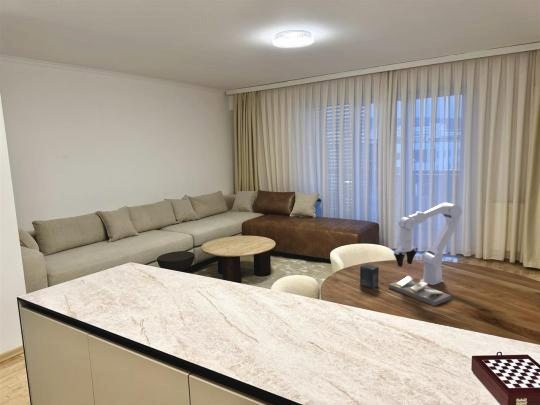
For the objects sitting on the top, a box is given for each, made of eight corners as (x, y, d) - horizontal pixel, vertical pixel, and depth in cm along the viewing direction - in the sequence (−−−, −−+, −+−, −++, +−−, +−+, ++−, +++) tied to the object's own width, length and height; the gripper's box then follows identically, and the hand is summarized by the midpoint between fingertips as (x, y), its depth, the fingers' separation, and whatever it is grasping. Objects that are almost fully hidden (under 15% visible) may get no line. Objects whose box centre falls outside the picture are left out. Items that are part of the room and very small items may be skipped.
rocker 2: (421, 282, 182) (421, 281, 181) (427, 284, 179) (427, 283, 178) (409, 289, 177) (409, 287, 177) (416, 291, 174) (416, 290, 174)
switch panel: (405, 282, 193) (405, 278, 192) (450, 299, 171) (451, 294, 170) (388, 287, 186) (388, 283, 186) (434, 305, 164) (434, 301, 164)
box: (378, 286, 188) (379, 266, 187) (372, 289, 185) (372, 269, 183) (365, 282, 194) (366, 263, 193) (359, 284, 191) (359, 265, 189)
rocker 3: (435, 291, 175) (435, 289, 175) (442, 294, 172) (442, 292, 172) (424, 290, 170) (424, 289, 170) (431, 293, 167) (431, 291, 167)
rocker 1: (407, 277, 188) (407, 275, 188) (413, 279, 185) (413, 277, 185) (396, 284, 184) (396, 283, 184) (402, 287, 181) (402, 285, 181)
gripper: (408, 236, 194) (407, 260, 196) (390, 240, 187) (389, 265, 189) (419, 239, 188) (418, 264, 190) (401, 243, 181) (400, 269, 183)
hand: (404, 265), depth 189 cm, fingers open, 7 cm apart
